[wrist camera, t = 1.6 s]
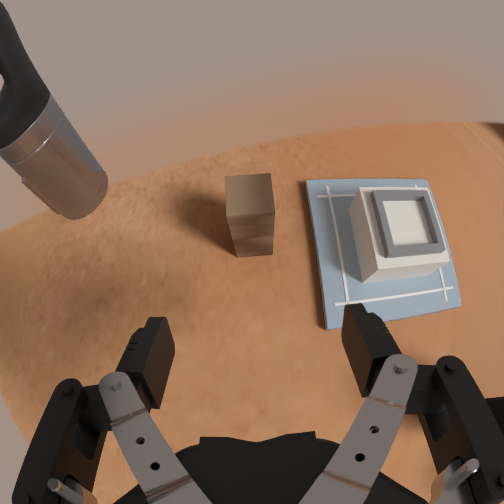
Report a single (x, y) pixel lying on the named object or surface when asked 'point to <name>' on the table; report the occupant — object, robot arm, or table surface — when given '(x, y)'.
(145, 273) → the table surface
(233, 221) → the walnut post
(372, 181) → the plan board
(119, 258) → the table surface
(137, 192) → the table surface
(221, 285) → the table surface
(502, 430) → the drinking cup
